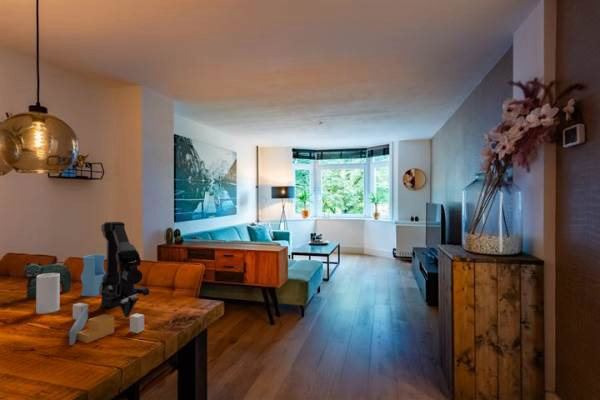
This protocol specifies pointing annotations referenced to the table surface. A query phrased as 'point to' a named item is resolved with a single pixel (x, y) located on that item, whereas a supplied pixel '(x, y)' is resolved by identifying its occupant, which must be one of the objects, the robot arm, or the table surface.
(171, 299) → the table surface
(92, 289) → the vase
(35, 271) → the ceramic cat
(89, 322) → the wedge
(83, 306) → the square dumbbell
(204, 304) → the table surface
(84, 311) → the grey end-capped bar
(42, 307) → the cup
